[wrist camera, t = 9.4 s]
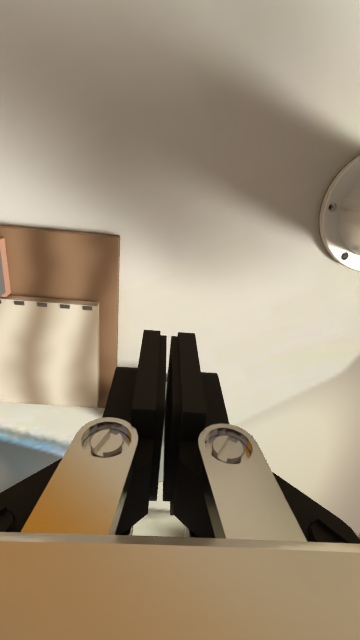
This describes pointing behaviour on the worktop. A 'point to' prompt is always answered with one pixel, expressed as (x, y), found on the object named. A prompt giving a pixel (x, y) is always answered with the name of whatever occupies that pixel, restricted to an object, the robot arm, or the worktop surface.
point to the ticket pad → (59, 317)
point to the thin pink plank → (4, 271)
